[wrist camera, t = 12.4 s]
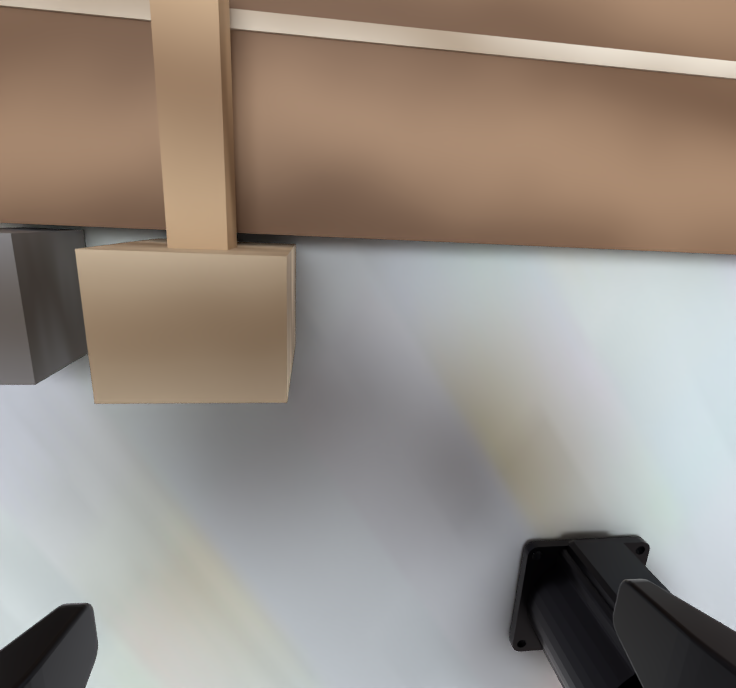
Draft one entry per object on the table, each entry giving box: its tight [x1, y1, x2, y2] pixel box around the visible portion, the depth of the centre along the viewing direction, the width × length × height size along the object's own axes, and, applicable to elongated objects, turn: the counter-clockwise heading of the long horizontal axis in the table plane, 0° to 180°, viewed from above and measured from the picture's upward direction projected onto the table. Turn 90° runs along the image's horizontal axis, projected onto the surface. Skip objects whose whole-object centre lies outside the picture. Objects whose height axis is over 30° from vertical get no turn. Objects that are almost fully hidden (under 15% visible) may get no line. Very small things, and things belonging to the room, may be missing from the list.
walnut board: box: [0, 0, 736, 385], centre depth 14 cm, size 17×30×4 cm, turn 87°
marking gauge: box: [75, 0, 296, 404], centre depth 13 cm, size 11×5×6 cm, turn 178°
